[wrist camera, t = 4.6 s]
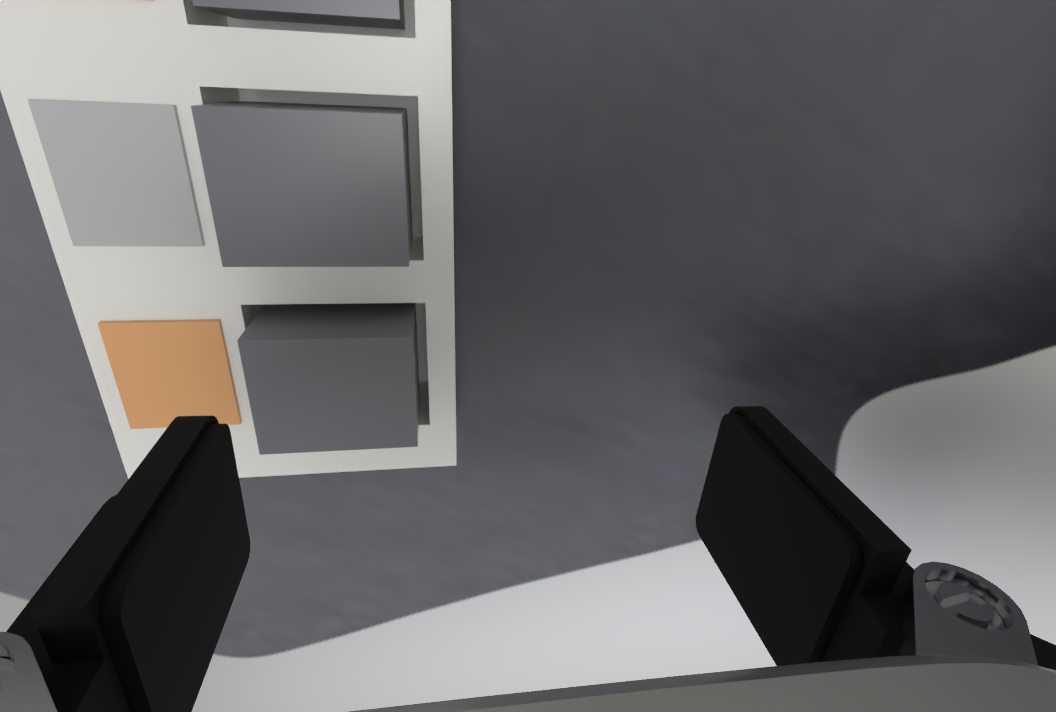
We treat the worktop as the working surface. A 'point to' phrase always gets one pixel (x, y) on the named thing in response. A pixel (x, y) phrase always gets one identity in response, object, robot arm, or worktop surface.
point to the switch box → (184, 207)
